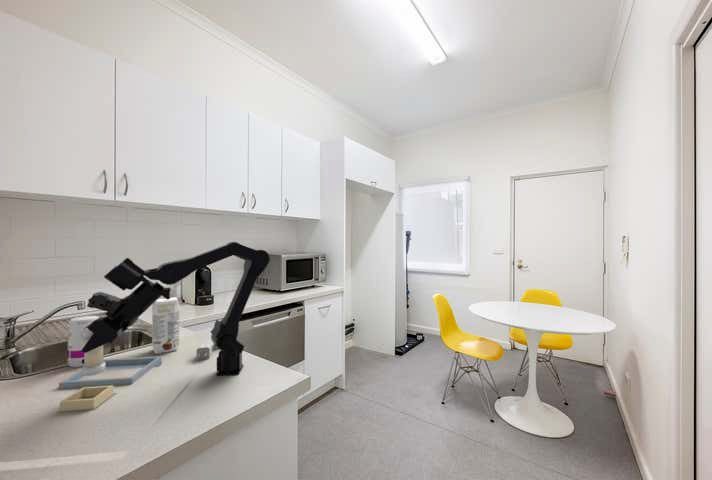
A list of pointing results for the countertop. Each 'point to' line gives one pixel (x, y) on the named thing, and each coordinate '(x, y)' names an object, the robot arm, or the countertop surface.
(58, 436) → the countertop surface
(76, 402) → the yellow rectangular frame
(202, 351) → the usb wall charger
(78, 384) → the tray
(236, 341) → the robot arm
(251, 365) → the countertop surface
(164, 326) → the juice carton
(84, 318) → the supplement can
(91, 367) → the pale spool-shaped piece
